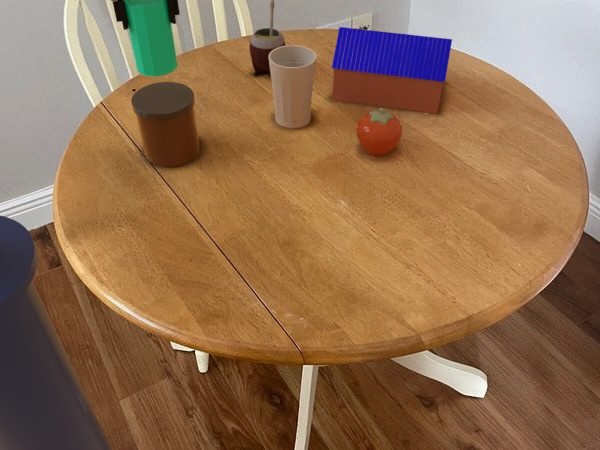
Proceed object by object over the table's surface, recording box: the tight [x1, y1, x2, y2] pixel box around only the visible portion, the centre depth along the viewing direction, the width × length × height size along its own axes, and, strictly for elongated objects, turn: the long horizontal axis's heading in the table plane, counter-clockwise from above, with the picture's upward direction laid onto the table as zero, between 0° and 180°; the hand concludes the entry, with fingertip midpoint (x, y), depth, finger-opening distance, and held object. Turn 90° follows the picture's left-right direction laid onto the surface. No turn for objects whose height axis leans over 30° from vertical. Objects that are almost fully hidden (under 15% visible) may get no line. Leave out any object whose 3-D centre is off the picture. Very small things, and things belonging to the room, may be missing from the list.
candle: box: [123, 0, 178, 77], centre depth 83 cm, size 6×6×12 cm
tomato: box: [355, 107, 403, 157], centre depth 95 cm, size 7×7×8 cm
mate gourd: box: [249, 0, 287, 77], centre depth 112 cm, size 8×8×15 cm
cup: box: [268, 44, 318, 129], centre depth 101 cm, size 8×8×12 cm
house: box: [331, 26, 453, 115], centre depth 108 cm, size 12×20×12 cm, turn 76°
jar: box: [130, 81, 201, 168], centre depth 94 cm, size 10×10×10 cm
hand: (149, 21), depth 82 cm, fingers closed on candle, 5 cm apart
